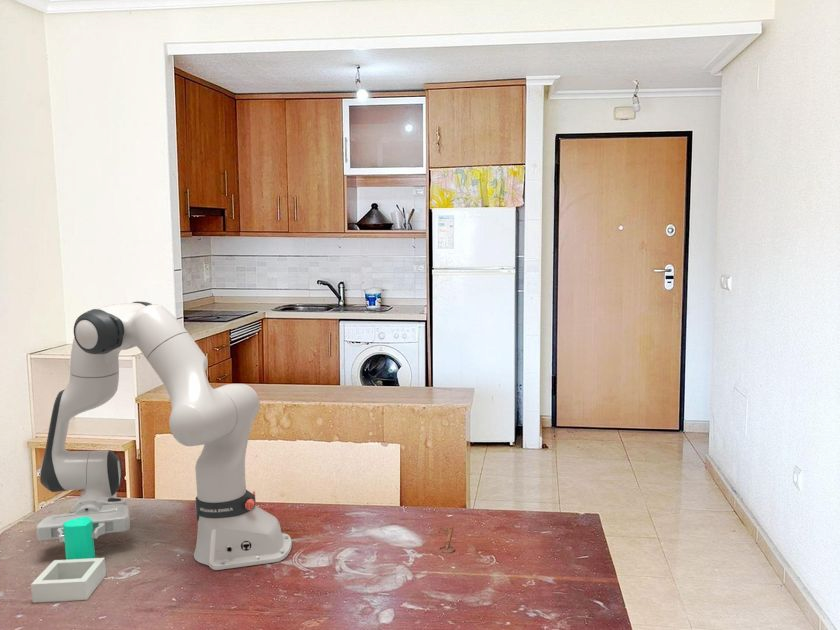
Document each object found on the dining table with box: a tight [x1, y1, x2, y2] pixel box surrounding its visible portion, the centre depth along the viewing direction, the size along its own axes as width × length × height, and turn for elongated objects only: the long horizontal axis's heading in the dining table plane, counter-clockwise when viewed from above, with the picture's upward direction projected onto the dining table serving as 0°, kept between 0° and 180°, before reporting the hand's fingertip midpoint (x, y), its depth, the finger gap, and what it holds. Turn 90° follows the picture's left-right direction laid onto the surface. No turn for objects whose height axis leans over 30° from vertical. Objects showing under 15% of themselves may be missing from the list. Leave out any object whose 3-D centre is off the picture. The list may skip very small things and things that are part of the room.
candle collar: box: [30, 557, 107, 603], centre depth 158 cm, size 11×11×4 cm
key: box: [437, 524, 456, 554], centre depth 178 cm, size 6×1×15 cm
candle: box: [63, 516, 96, 560], centre depth 169 cm, size 6×6×12 cm
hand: (78, 537), depth 168 cm, fingers open, 5 cm apart
